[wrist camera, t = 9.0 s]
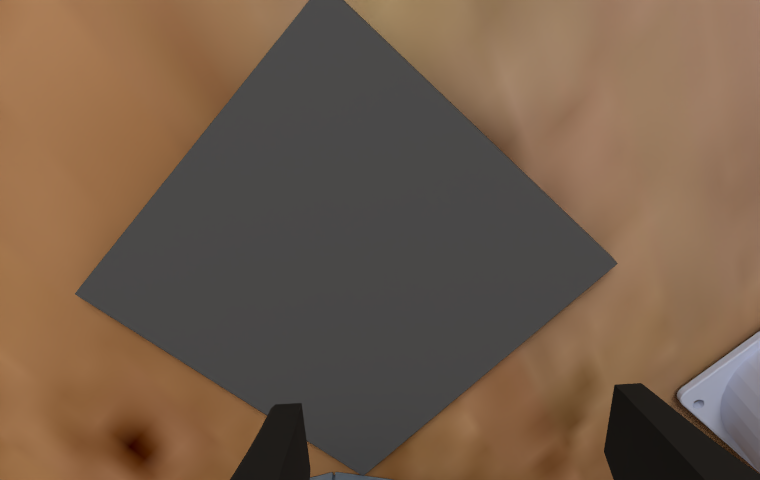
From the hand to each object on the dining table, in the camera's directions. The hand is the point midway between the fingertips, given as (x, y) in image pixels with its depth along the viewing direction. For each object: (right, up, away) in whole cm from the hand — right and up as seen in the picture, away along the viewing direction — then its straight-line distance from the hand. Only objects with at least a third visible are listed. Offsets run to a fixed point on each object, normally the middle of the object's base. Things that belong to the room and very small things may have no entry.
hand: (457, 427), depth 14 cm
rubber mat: (-3, +3, +10) cm, 11 cm away
